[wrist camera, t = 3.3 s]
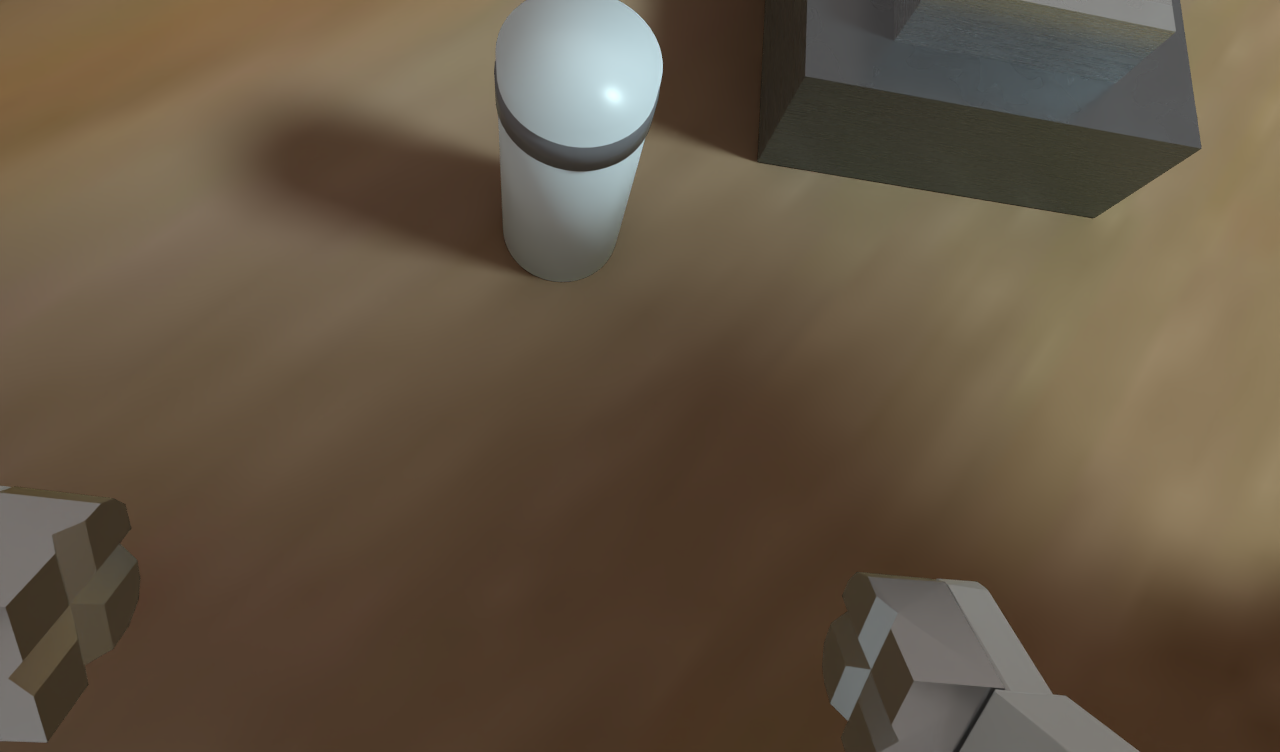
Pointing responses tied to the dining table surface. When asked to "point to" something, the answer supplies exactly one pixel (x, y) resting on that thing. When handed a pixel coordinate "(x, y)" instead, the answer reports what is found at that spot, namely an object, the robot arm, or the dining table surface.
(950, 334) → the dining table surface
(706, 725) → the dining table surface
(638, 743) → the dining table surface
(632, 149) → the dome-capped cylinder
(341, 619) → the dining table surface
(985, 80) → the square socket base
